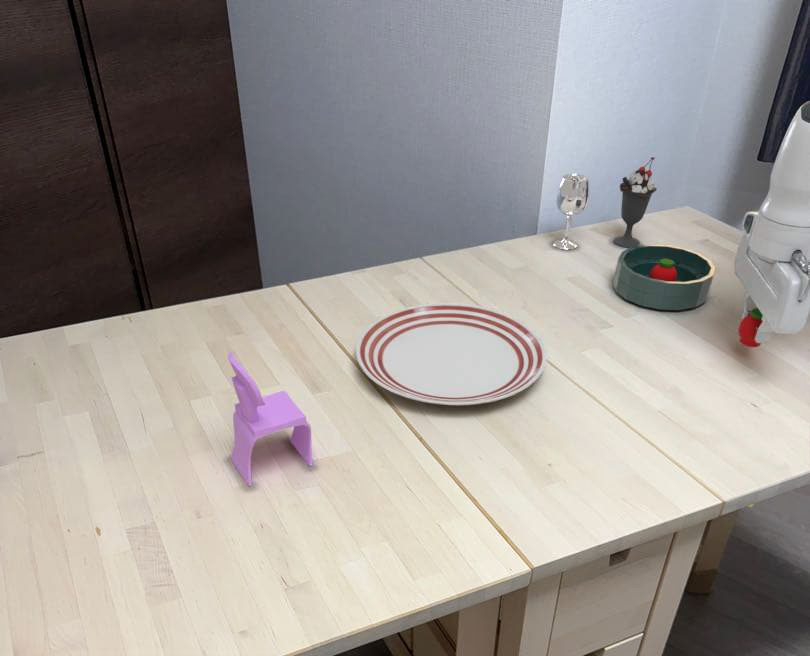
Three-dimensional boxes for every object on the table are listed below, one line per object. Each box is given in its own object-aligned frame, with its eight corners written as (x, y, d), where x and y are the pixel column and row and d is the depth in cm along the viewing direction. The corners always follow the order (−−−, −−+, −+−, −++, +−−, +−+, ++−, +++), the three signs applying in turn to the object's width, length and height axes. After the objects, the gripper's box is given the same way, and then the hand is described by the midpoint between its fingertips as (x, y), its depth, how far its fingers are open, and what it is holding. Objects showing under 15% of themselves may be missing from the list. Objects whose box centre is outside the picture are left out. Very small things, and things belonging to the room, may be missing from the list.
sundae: (648, 240, 144) (668, 156, 133) (637, 252, 140) (657, 166, 129) (615, 233, 146) (632, 150, 136) (604, 244, 142) (620, 160, 132)
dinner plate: (557, 420, 99) (561, 399, 97) (352, 419, 99) (351, 398, 97) (531, 322, 119) (533, 303, 117) (360, 321, 119) (359, 301, 116)
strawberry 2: (760, 335, 112) (771, 305, 109) (769, 349, 109) (781, 319, 106) (730, 334, 112) (740, 304, 109) (739, 349, 109) (749, 319, 106)
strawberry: (670, 283, 129) (677, 256, 125) (675, 295, 126) (683, 267, 122) (644, 282, 129) (651, 255, 126) (649, 294, 126) (656, 266, 122)
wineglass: (566, 253, 139) (577, 185, 130) (543, 243, 142) (552, 177, 134) (586, 245, 141) (598, 179, 133) (563, 236, 145) (574, 170, 136)
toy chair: (319, 469, 91) (310, 360, 81) (252, 491, 88) (233, 381, 78) (292, 434, 96) (280, 328, 86) (227, 454, 93) (207, 346, 83)
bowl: (694, 273, 133) (702, 245, 130) (716, 314, 122) (726, 285, 118) (606, 270, 133) (612, 243, 130) (621, 311, 122) (627, 282, 119)
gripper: (841, 270, 92) (800, 368, 102) (785, 209, 107) (754, 300, 116) (789, 269, 92) (753, 367, 102) (741, 209, 107) (713, 299, 117)
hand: (753, 331), depth 109 cm, fingers closed on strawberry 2, 4 cm apart
